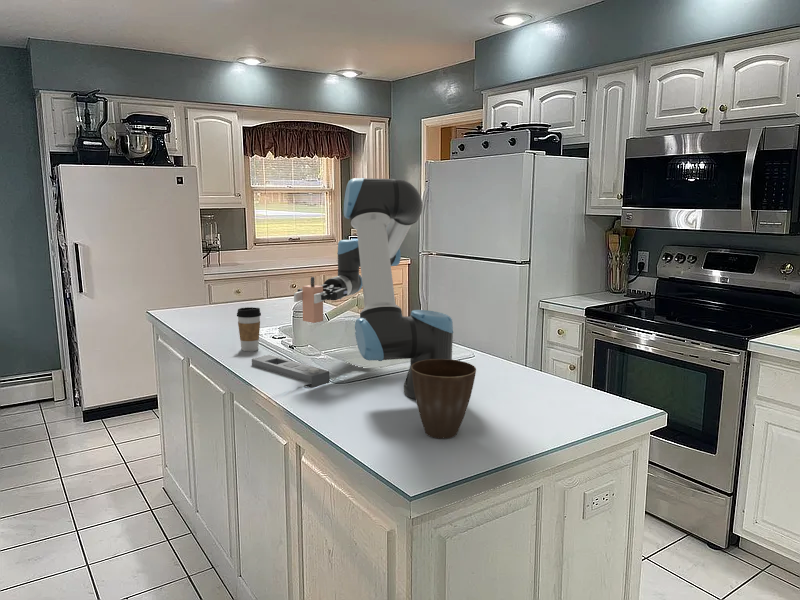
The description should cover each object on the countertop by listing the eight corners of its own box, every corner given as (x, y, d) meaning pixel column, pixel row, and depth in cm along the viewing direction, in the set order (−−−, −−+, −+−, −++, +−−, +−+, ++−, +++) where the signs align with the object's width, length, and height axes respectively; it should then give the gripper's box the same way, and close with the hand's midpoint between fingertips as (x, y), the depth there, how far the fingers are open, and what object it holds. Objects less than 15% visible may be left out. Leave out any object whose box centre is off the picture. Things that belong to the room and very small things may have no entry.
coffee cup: (248, 353, 213) (246, 311, 211) (232, 349, 218) (231, 308, 216) (266, 348, 220) (265, 307, 217) (251, 345, 225) (250, 305, 222)
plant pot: (468, 421, 151) (471, 358, 148) (478, 445, 136) (481, 376, 134) (408, 421, 151) (409, 358, 148) (411, 445, 136) (413, 376, 133)
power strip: (329, 382, 181) (329, 368, 180) (311, 388, 176) (311, 373, 175) (269, 365, 199) (269, 352, 198) (251, 369, 193) (251, 356, 193)
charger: (323, 321, 192) (322, 276, 189) (313, 323, 188) (313, 278, 186) (312, 319, 195) (311, 275, 192) (302, 320, 192) (302, 276, 189)
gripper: (362, 300, 205) (333, 312, 183) (311, 297, 211) (277, 308, 189) (362, 278, 203) (333, 287, 182) (311, 275, 209) (277, 284, 188)
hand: (305, 298), depth 185 cm, fingers closed on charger, 6 cm apart
